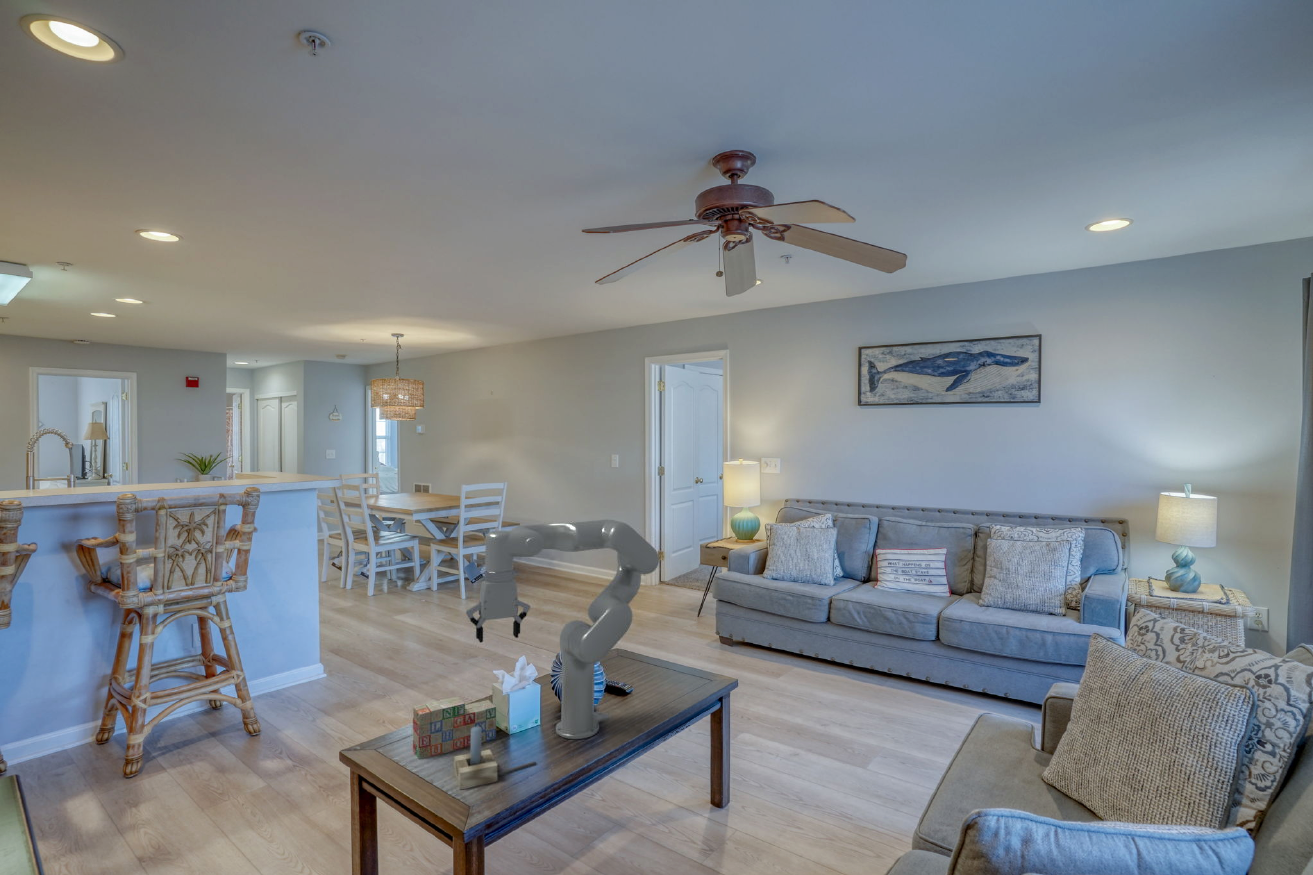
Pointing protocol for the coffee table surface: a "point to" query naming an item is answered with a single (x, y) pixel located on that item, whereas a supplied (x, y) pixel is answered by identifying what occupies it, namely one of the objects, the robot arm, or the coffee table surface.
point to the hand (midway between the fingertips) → (498, 638)
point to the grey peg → (475, 746)
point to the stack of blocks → (450, 725)
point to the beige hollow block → (475, 770)
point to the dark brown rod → (517, 768)
